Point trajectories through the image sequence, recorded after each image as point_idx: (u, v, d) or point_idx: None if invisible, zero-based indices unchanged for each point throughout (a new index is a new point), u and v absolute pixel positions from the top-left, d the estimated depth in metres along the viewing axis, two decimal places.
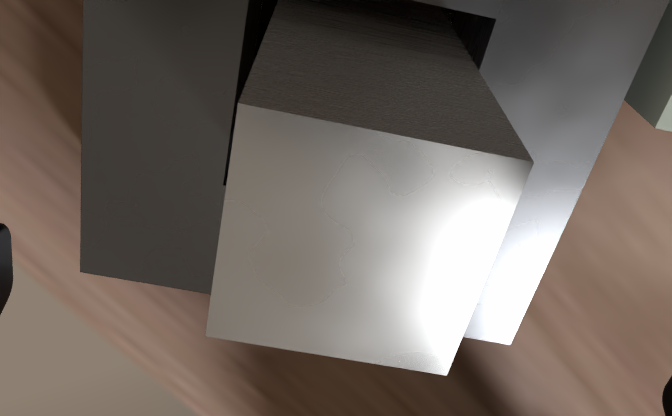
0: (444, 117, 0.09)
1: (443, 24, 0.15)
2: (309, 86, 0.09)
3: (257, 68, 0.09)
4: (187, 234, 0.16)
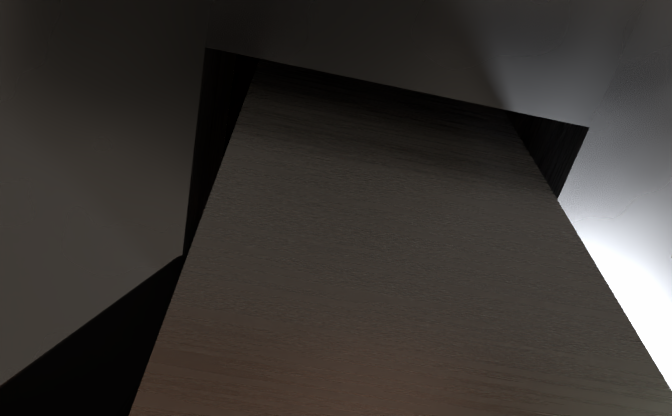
0: None
1: (498, 120, 0.10)
2: (281, 373, 0.04)
3: (173, 327, 0.04)
4: None
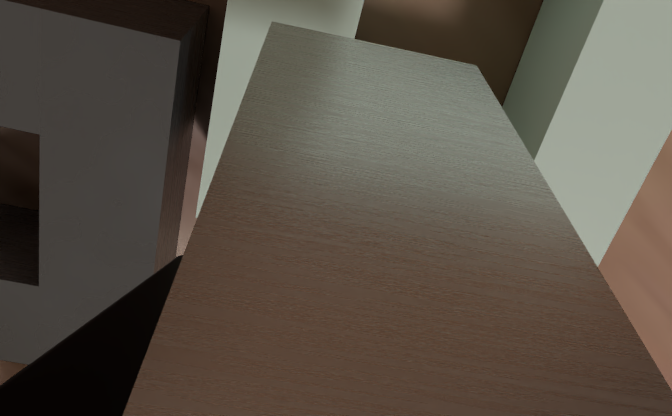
0: None
1: (497, 118, 0.10)
2: (277, 369, 0.04)
3: (169, 324, 0.04)
4: None
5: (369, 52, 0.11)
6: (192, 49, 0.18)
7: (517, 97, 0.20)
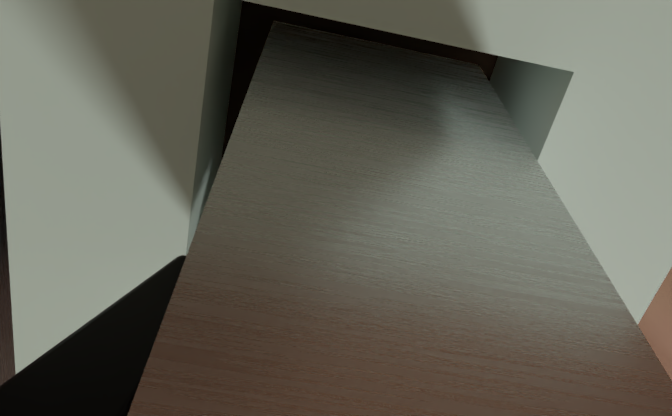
0: None
1: (499, 117, 0.10)
2: (282, 368, 0.04)
3: (173, 323, 0.04)
4: None
5: (371, 52, 0.11)
6: None
7: None
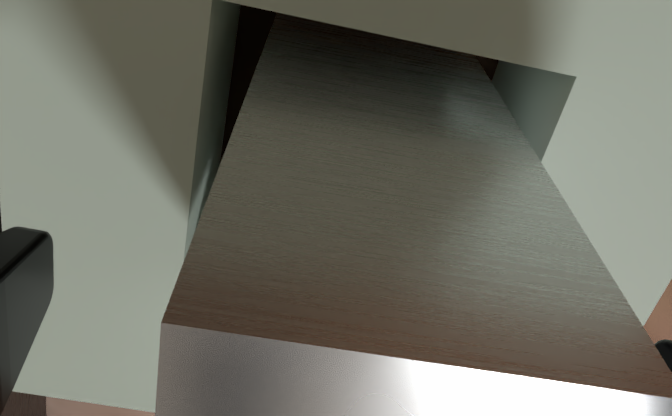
0: (517, 297, 0.06)
1: (481, 82, 0.11)
2: (295, 247, 0.06)
3: (210, 216, 0.06)
4: None
5: None
6: None
7: None
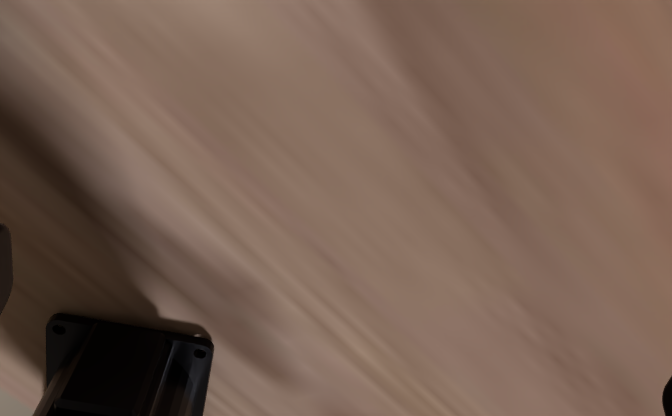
0: None
1: None
2: None
3: None
4: None
5: None
6: None
7: None
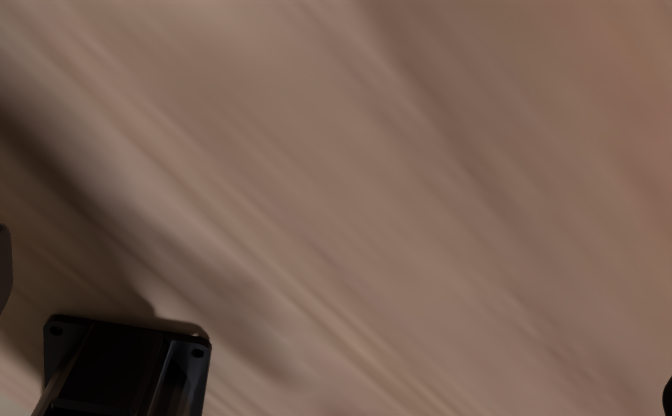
0: None
1: None
2: None
3: None
4: None
5: None
6: None
7: None
